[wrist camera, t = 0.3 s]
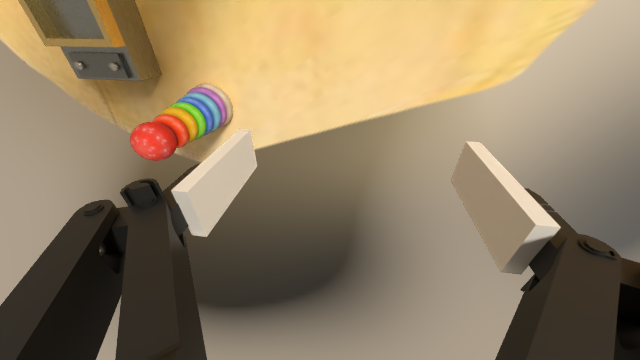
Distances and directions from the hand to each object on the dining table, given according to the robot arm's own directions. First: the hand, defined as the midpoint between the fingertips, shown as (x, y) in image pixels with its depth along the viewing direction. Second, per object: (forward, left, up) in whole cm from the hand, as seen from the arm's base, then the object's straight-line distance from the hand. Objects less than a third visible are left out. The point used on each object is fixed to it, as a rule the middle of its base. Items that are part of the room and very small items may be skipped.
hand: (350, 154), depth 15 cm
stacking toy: (+6, -27, -28) cm, 39 cm away
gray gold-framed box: (-8, -42, -28) cm, 51 cm away
